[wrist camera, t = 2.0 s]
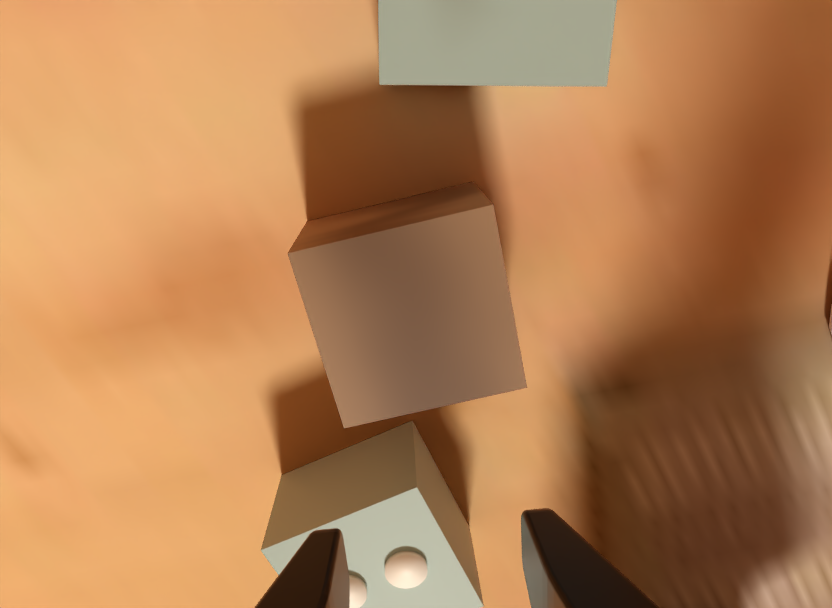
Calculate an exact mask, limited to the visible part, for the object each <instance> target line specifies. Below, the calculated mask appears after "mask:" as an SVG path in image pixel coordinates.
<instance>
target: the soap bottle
mask: <svg viewBox="0 0 832 608" xmlns="http://www.w3.org/2000/svg"><path fill="white" fill-rule="evenodd" d="M829 329H830V332H831V336H832V306H831V314H830V323H829Z"/></svg>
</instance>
